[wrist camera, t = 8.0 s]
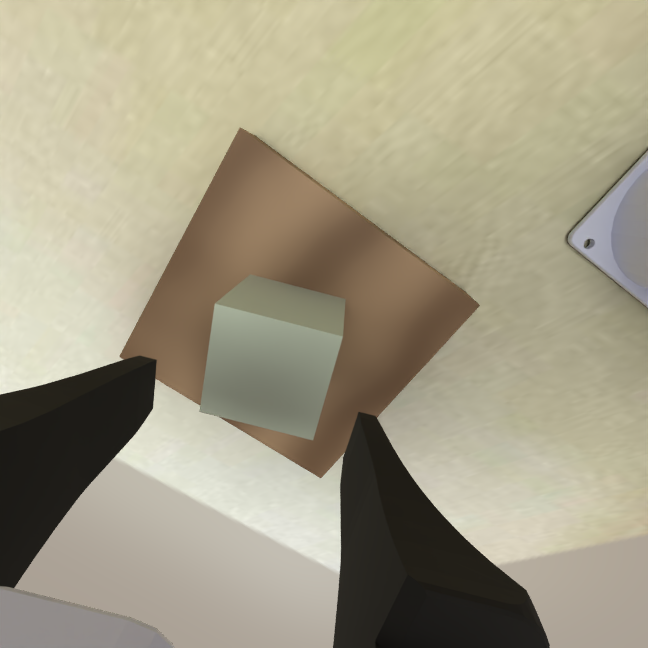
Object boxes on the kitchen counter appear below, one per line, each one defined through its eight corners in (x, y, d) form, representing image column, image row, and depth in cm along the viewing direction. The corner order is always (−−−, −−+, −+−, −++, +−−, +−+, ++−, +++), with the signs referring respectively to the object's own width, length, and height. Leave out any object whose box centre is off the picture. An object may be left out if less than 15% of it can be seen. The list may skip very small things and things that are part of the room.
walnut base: (465, 291, 20) (479, 305, 18) (323, 451, 25) (320, 478, 23) (254, 135, 18) (240, 127, 16) (143, 339, 23) (119, 356, 21)
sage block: (345, 299, 18) (342, 336, 14) (322, 382, 20) (312, 440, 15) (250, 274, 18) (214, 303, 14) (235, 359, 20) (199, 411, 15)
